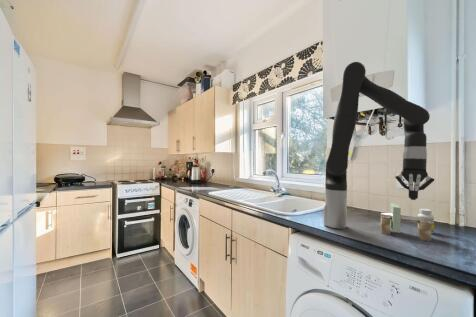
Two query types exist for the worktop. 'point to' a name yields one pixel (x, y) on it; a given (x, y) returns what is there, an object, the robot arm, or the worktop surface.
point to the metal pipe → (407, 218)
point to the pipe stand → (423, 228)
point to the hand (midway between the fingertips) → (413, 199)
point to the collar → (395, 217)
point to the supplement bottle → (427, 214)
